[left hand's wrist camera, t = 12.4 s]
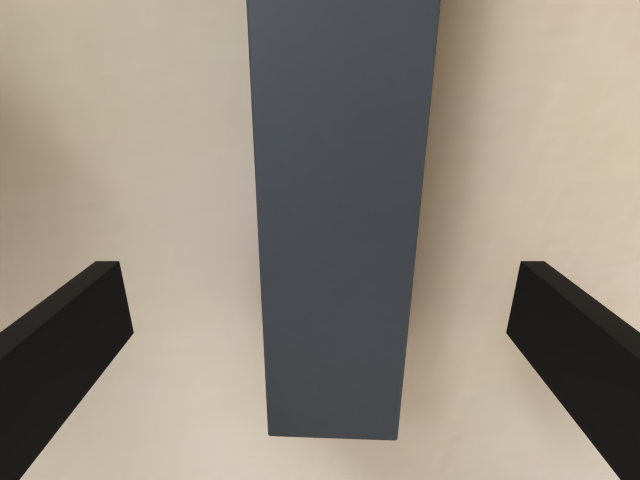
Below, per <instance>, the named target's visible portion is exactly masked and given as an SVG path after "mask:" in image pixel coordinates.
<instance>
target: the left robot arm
mask: <svg viewBox="0 0 640 480" xmlns="http://www.w3.org/2000/svg"><path fill="white" fill-rule="evenodd" d="M133 333H134V332H133V327H132V322H131V317H130V312H129V307H128V302H127V297H126V292H125V287H124V283H123V278H122V273H121V268H120V263H119V261H95V262H94V263H93V264H91V265H90V266H89V267H87V268H86V269H85V270H83V271H82V272H81V273H79V274H78V275H77V276H75V277H74V278H73V279H71V280H70V281H69V282H67V283H66V284H65V285H63V286H62V287H61V288H59V289H58V290H57V291H55V292H54V293H53V294H51V295H50V296H49V297H47V298H46V299H45V300H43V301H42V302H41V303H39V304H38V305H37V306H35V307H34V308H33V309H31V310H30V311H29V312H27V313H26V314H25V315H23V316H22V317H20V318H19V319H18V320H16V321H15V322H14V323H12V324H11V325H10V326H8V327H7V328H6V329H4V330H3V331H2V332H0V480H20V478H21V477H22V476H23V474H24V473H25V472H26V471H27V469H28V468H29V467H30V465H31V464H32V463H33V462H34V460H35V459H36V458H37V456H38V455H39V454H40V453H41V451H42V450H43V449H44V447H45V446H46V445H47V444H48V442H49V441H50V440H51V438H52V437H53V436H54V435H55V433H56V432H57V431H58V430H59V428H60V427H61V426H62V424H63V423H64V422H65V421H66V419H67V418H68V417H69V415H70V414H71V413H72V412H73V410H74V409H75V408H76V406H77V405H78V404H79V403H80V401H81V400H82V399H83V397H84V396H85V395H86V394H87V392H88V391H89V390H90V388H91V387H92V386H93V385H94V383H95V382H96V381H97V379H98V378H99V377H100V376H101V374H102V373H103V372H104V370H105V369H106V368H107V367H108V365H109V364H110V363H111V361H112V360H113V359H114V358H115V356H116V355H117V354H118V352H119V351H120V350H121V349H122V347H123V346H124V345H125V343H126V342H127V341H128V340H129V338H130V337H131V336H132V334H133ZM506 333H507V334H508V336H509V337H510V338H511V340H512V341H513V342H514V343H515V345H516V346H517V347H518V349H519V350H520V351H521V352H522V354H523V355H524V356H525V358H526V359H527V360H528V361H529V363H530V364H531V365H532V367H533V368H534V369H535V370H536V372H537V373H538V374H539V376H540V377H541V378H542V379H543V381H544V382H545V383H546V385H547V386H548V387H549V388H550V390H551V391H552V392H553V394H554V395H555V396H556V397H557V399H558V400H559V401H560V403H561V404H562V405H563V406H564V408H565V409H566V410H567V412H568V413H569V414H570V415H571V417H572V418H573V419H574V421H575V422H576V423H577V424H578V426H579V427H580V428H581V430H582V431H583V432H584V433H585V435H586V436H587V437H588V438H589V440H590V441H591V442H592V444H593V445H594V446H595V447H596V449H597V450H598V451H599V453H600V454H601V455H602V456H603V458H604V459H605V460H606V462H607V463H608V464H609V465H610V467H611V468H612V469H613V471H614V472H615V473H616V474H617V476H618V477H619V478H620V480H640V332H638V331H637V330H636V329H634V328H633V327H632V326H630V325H629V324H628V323H626V322H625V321H624V320H622V319H621V318H620V317H618V316H617V315H615V314H614V313H613V312H611V311H610V310H609V309H607V308H606V307H605V306H603V305H602V304H601V303H599V302H598V301H597V300H595V299H594V298H593V297H591V296H590V295H589V294H587V293H586V292H585V291H583V290H582V289H581V288H579V287H578V286H577V285H575V284H574V283H573V282H571V281H570V280H569V279H567V278H566V277H565V276H563V275H562V274H561V273H559V272H558V271H557V270H555V269H554V268H553V267H551V266H550V265H549V264H547V263H546V262H545V261H521V263H520V268H519V273H518V278H517V283H516V287H515V292H514V297H513V302H512V307H511V312H510V317H509V322H508V327H507V332H506Z"/></svg>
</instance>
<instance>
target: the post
mask: <svg viewBox="0 0 640 480" xmlns="http://www.w3.org/2000/svg"><path fill="white" fill-rule="evenodd" d="M246 1H247V21H248V41H249V61H250V81H251V101H252V121H253V141H254V161H255V181H256V200H257V220H258V240H259V260H260V280H261V300H262V320H263V340H264V360H265V380H266V400H267V420H268V434H269V436H285V437H314V438H342V439H371V440H397V437H398V427H399V417H400V407H401V396H402V386H403V376H404V366H405V356H406V346H407V336H408V326H409V316H410V305H411V295H412V285H413V275H414V265H415V255H416V245H417V235H418V225H419V214H420V204H421V194H422V184H423V174H424V164H425V154H426V144H427V133H428V123H429V113H430V103H431V93H432V83H433V73H434V63H435V53H436V42H437V32H438V22H439V12H440V2H441V0H246Z"/></svg>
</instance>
